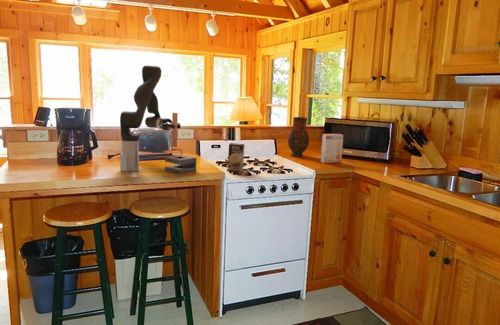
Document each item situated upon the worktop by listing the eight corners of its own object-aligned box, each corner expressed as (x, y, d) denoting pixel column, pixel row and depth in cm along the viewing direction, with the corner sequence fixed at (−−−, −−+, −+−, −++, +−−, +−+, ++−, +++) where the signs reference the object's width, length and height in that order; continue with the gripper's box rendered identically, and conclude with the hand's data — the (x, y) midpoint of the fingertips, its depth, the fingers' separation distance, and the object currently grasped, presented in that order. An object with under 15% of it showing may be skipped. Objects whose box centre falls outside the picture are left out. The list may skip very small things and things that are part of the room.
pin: (174, 146, 224) (174, 113, 220) (170, 146, 225) (171, 112, 222) (178, 146, 226) (178, 113, 222) (174, 145, 228) (175, 112, 224)
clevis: (178, 174, 210) (179, 160, 209) (164, 170, 217) (164, 157, 216) (196, 171, 221) (196, 157, 219) (182, 167, 228) (182, 154, 226)
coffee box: (227, 170, 226) (228, 144, 223) (228, 168, 233) (229, 142, 230) (242, 171, 226) (243, 145, 223) (243, 169, 232) (244, 143, 229)
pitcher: (290, 158, 282) (293, 118, 277) (282, 153, 303) (284, 115, 297) (311, 158, 286) (314, 118, 280) (301, 153, 306) (304, 116, 301)
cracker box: (336, 162, 276) (339, 133, 272) (341, 163, 270) (344, 134, 266) (319, 162, 271) (322, 133, 267) (324, 163, 266) (326, 134, 262)
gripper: (153, 117, 229) (166, 120, 216) (174, 117, 238) (187, 120, 225) (153, 130, 231) (166, 133, 218) (174, 129, 239) (187, 132, 226)
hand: (177, 126), depth 221 cm, fingers closed on pin, 3 cm apart
